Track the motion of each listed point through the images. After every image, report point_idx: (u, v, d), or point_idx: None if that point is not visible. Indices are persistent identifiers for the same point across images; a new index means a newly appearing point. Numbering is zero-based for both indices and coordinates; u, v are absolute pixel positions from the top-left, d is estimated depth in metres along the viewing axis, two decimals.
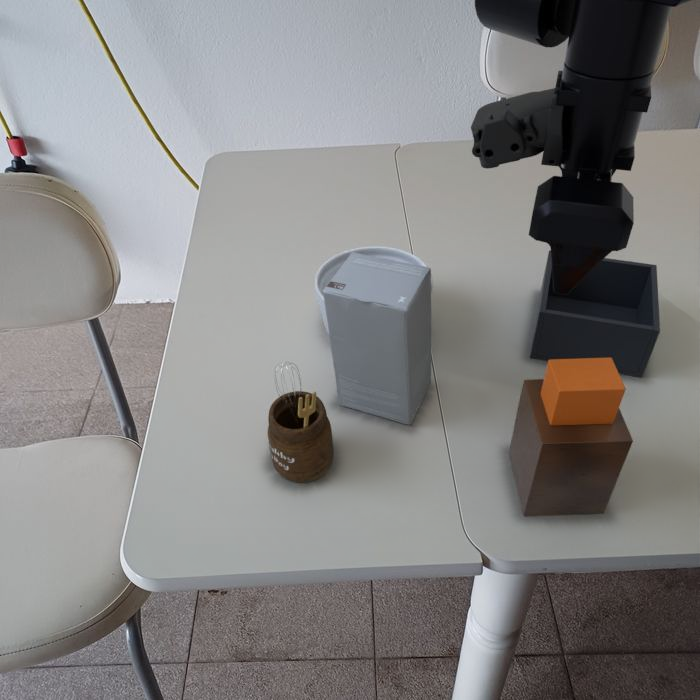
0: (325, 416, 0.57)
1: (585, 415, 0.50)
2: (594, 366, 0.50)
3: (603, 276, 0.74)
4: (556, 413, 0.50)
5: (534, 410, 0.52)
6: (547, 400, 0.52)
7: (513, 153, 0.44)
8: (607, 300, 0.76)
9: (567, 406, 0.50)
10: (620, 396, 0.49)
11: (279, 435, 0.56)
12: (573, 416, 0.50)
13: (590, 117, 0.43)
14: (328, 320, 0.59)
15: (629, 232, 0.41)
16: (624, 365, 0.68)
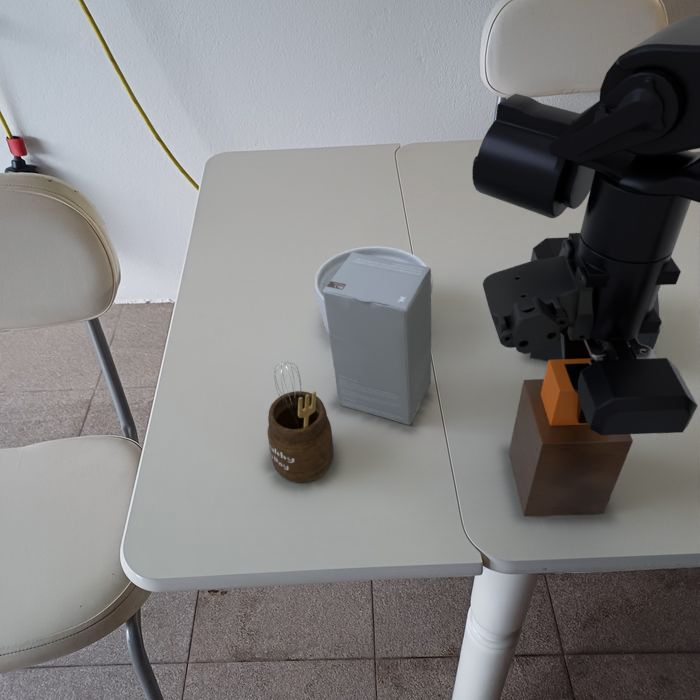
0: (325, 416, 0.57)
1: None
2: None
3: None
4: (556, 413, 0.50)
5: (534, 410, 0.52)
6: (547, 400, 0.52)
7: (549, 340, 0.42)
8: None
9: (567, 407, 0.50)
10: None
11: (279, 435, 0.56)
12: (573, 416, 0.50)
13: (622, 295, 0.41)
14: (328, 320, 0.59)
15: (693, 413, 0.40)
16: None
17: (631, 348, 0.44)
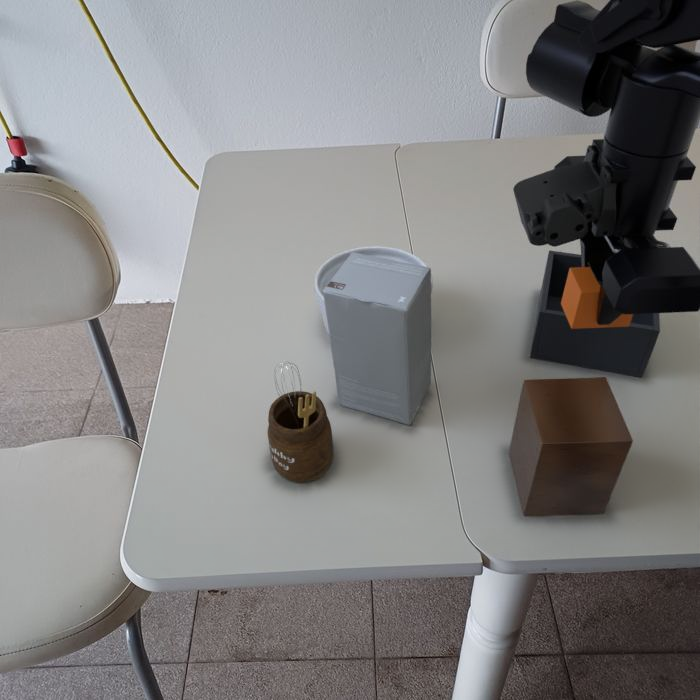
0: (325, 416, 0.57)
1: None
2: None
3: None
4: (577, 316, 0.55)
5: (534, 410, 0.52)
6: (568, 306, 0.56)
7: (577, 233, 0.46)
8: None
9: (588, 309, 0.54)
10: None
11: (279, 435, 0.56)
12: (593, 319, 0.55)
13: (643, 190, 0.45)
14: (328, 320, 0.59)
15: None
16: (624, 365, 0.68)
17: (649, 244, 0.48)
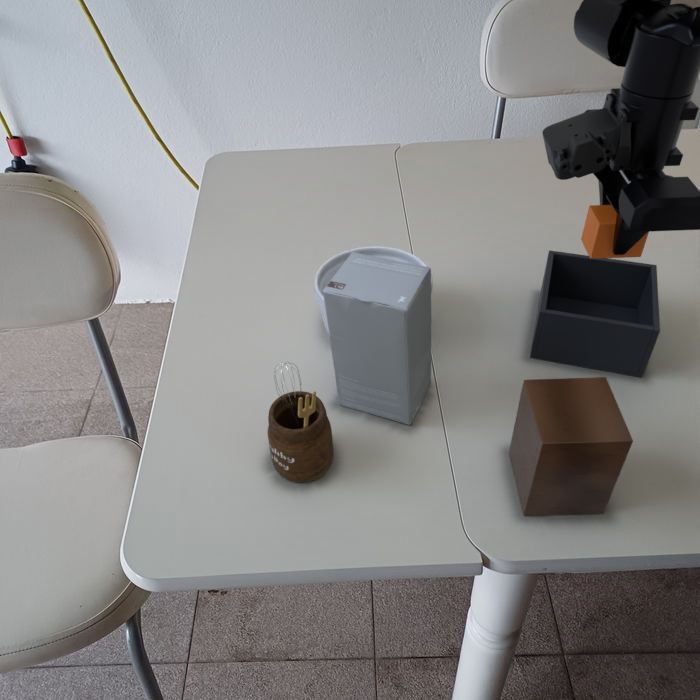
0: (325, 416, 0.57)
1: None
2: None
3: (603, 276, 0.74)
4: (596, 246, 0.63)
5: (534, 410, 0.52)
6: (587, 239, 0.64)
7: (598, 165, 0.54)
8: (607, 300, 0.76)
9: (605, 239, 0.62)
10: None
11: (279, 435, 0.56)
12: (609, 249, 0.63)
13: (654, 129, 0.54)
14: (328, 320, 0.59)
15: None
16: (624, 365, 0.68)
17: (659, 177, 0.57)
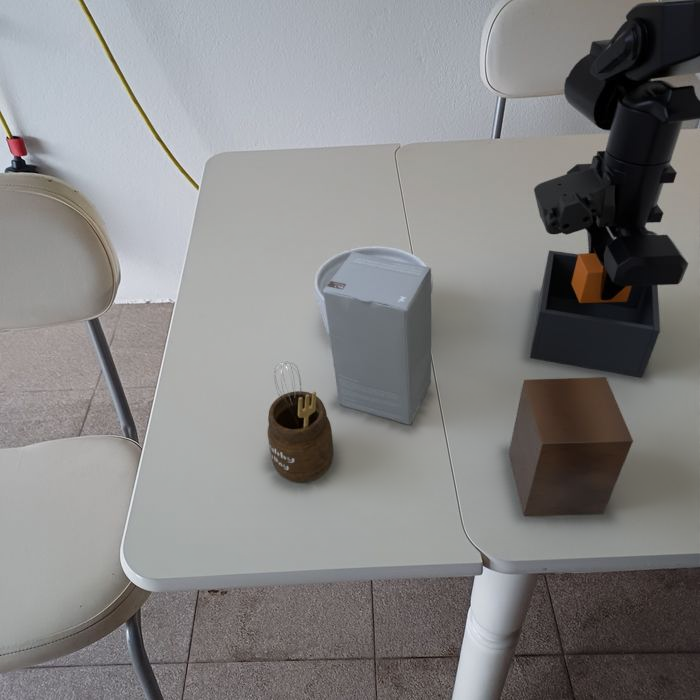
0: (325, 416, 0.57)
1: None
2: None
3: None
4: (584, 292, 0.68)
5: (534, 410, 0.52)
6: (577, 285, 0.69)
7: (584, 223, 0.59)
8: None
9: (593, 286, 0.67)
10: None
11: (279, 435, 0.56)
12: (597, 295, 0.68)
13: (636, 191, 0.59)
14: (328, 320, 0.59)
15: (685, 270, 0.57)
16: (624, 365, 0.68)
17: (641, 233, 0.61)
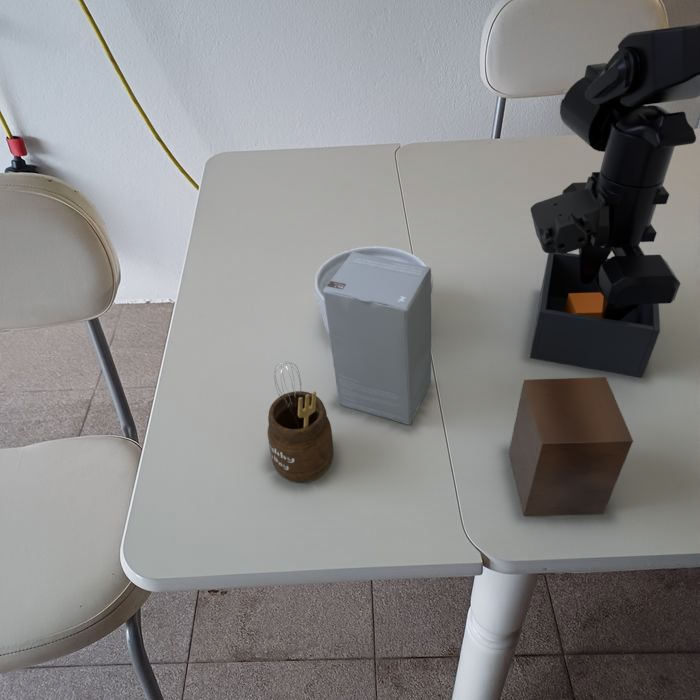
0: (325, 416, 0.57)
1: None
2: (601, 297, 0.71)
3: None
4: None
5: (534, 410, 0.52)
6: None
7: (579, 243, 0.61)
8: None
9: None
10: None
11: (279, 435, 0.56)
12: None
13: (629, 212, 0.60)
14: (328, 320, 0.59)
15: (677, 289, 0.59)
16: (624, 365, 0.68)
17: None
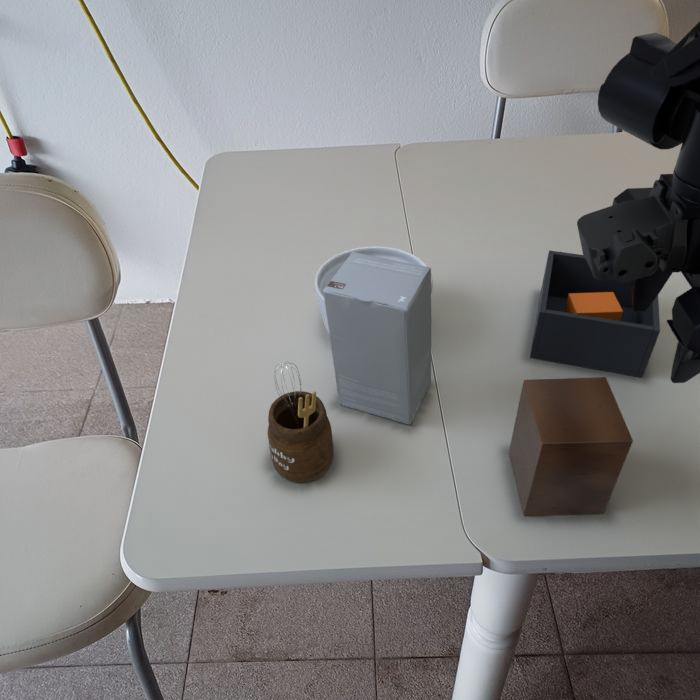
0: (325, 416, 0.57)
1: None
2: (601, 297, 0.71)
3: None
4: None
5: (534, 410, 0.52)
6: None
7: (647, 270, 0.45)
8: None
9: None
10: (619, 317, 0.70)
11: (279, 435, 0.56)
12: None
13: None
14: (328, 320, 0.59)
15: None
16: (624, 365, 0.68)
17: None
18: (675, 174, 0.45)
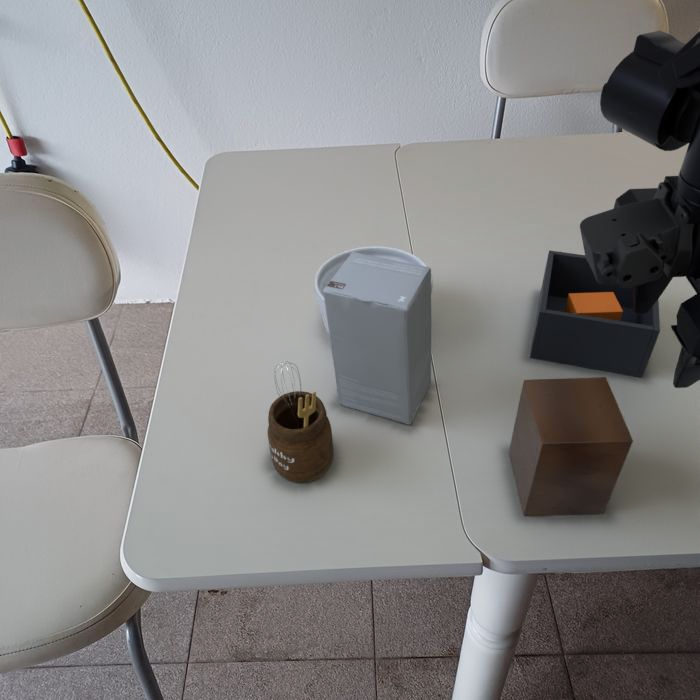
0: (325, 416, 0.57)
1: None
2: (601, 297, 0.71)
3: None
4: None
5: (534, 410, 0.52)
6: None
7: (651, 275, 0.44)
8: None
9: None
10: (619, 317, 0.70)
11: (279, 435, 0.56)
12: None
13: None
14: (328, 320, 0.59)
15: None
16: (624, 365, 0.68)
17: None
18: (681, 177, 0.44)
